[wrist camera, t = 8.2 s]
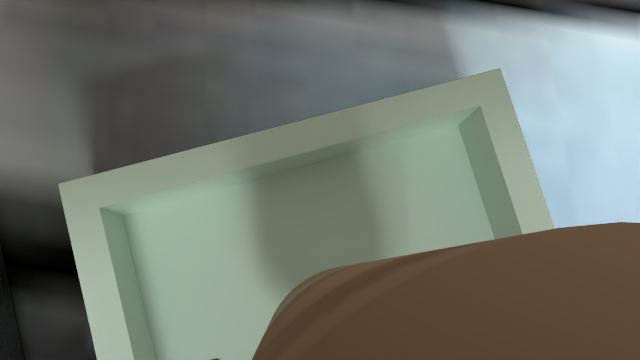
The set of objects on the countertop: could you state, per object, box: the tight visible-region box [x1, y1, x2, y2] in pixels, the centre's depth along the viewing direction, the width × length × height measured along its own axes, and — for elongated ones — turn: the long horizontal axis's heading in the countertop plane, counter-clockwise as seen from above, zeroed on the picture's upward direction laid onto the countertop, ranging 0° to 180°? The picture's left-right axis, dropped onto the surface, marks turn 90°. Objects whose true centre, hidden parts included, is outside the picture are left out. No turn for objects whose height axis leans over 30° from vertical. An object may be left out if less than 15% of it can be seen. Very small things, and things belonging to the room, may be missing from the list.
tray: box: [58, 68, 554, 360], centre depth 19 cm, size 14×14×4 cm
